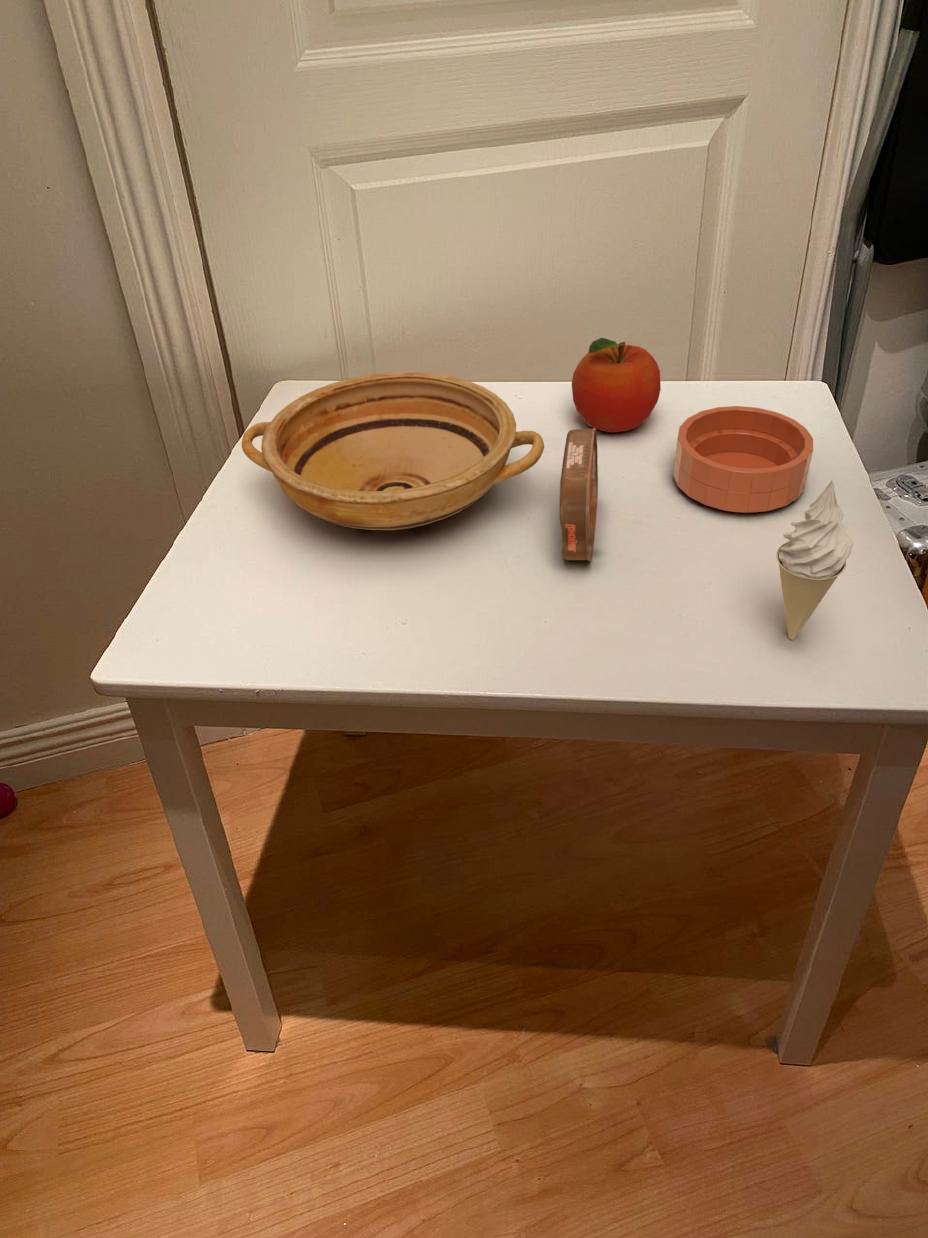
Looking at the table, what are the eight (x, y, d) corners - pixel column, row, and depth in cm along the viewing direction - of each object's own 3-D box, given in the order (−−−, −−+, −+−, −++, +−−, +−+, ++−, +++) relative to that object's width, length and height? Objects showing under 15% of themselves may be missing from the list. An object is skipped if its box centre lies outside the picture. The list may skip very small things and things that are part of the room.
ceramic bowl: (215, 563, 87) (195, 491, 82) (290, 432, 105) (277, 366, 100) (531, 581, 83) (531, 506, 78) (553, 442, 101) (554, 373, 96)
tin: (590, 580, 83) (594, 500, 77) (554, 578, 83) (556, 498, 78) (599, 487, 94) (603, 411, 88) (567, 485, 94) (569, 410, 89)
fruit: (674, 431, 101) (684, 344, 95) (596, 452, 99) (601, 364, 92) (630, 394, 108) (636, 310, 102) (555, 413, 106) (557, 328, 99)
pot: (820, 468, 95) (830, 424, 91) (778, 531, 87) (788, 486, 84) (701, 438, 100) (707, 395, 97) (652, 495, 92) (657, 451, 89)
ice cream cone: (832, 658, 74) (878, 499, 64) (767, 659, 74) (803, 501, 64) (815, 616, 78) (856, 460, 68) (753, 618, 78) (785, 462, 68)
